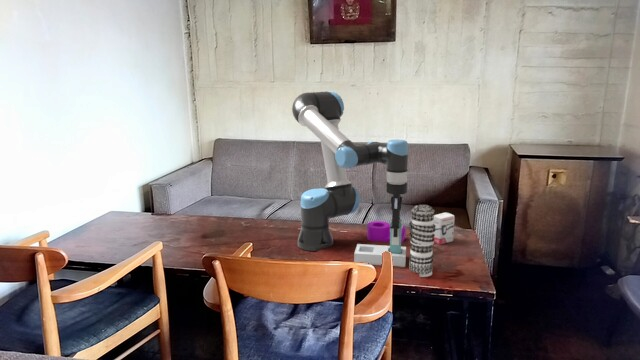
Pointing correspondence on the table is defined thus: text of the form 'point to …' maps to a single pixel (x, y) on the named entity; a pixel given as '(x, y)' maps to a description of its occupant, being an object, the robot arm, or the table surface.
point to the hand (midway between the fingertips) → (395, 242)
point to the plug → (397, 248)
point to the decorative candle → (422, 240)
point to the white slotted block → (378, 254)
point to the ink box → (443, 228)
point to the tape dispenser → (381, 231)
